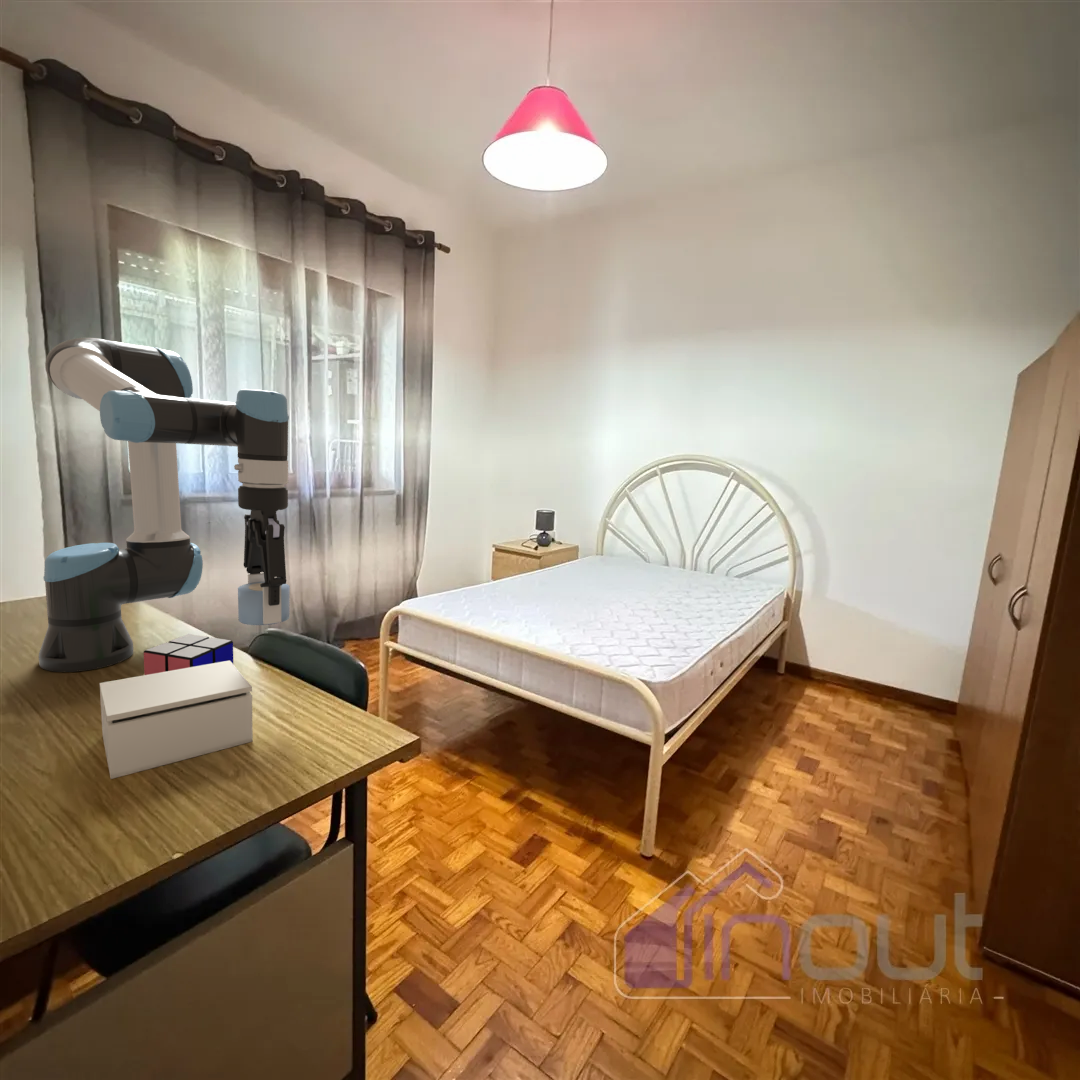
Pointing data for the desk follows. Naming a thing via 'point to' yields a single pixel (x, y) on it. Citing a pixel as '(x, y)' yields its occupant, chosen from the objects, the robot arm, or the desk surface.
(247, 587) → the blue domed cylinder
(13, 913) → the desk surface
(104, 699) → the hinged white flap
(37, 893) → the desk surface
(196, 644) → the puzzle cube
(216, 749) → the carton
